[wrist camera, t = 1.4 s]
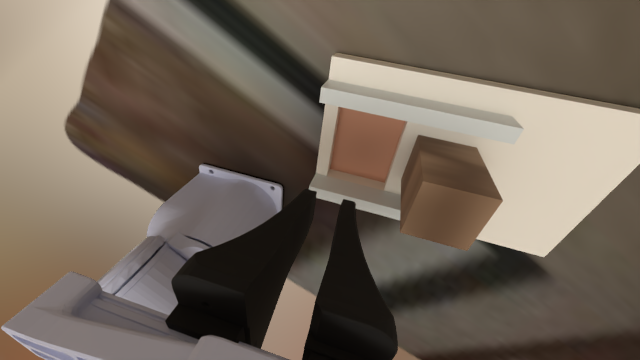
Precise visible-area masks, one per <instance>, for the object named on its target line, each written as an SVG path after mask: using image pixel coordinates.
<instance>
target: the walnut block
mask: <svg viewBox="0 0 640 360" xmlns="http://www.w3.org/2000/svg"><path fill="white" fill-rule="evenodd" d="M502 202H503V199H502V197H501V195H500V193H499V191H498V189H497V187H496V185H495V183H494V181H493V179H492V177H491V175H490V173H489V171H488V169H487V167H486V165H485V163H484V161H483V159H482V157H481V155H480V153H479V151H478V149H477V147H472V146H468V145H463V144H459V143H454V142H450V141H445V140H441V139H436V138H432V137H427V136H423V135H418V136H417V139H416V142H415V144H414V147H413V149H412V152H411V155H410V157H409V160H408V162H407V165H406V168H405V170H404V173H403V176H402V178H401V209H400V232H401V233H404V234H408V235H412V236H415V237H419V238H422V239H426V240H430V241H433V242H437V243H440V244H444V245H448V246H451V247H455V248H458V249H462V250H466V251H467V250H468V249H469V247H470V246H471V245H472V243H473V242H474V241H475V239H476V238H477V236H478V235H479V234H480V232H481V231H482V229H483V228H484V227H485V225H486V224H487V222H488V221H489V220H490V218H491V217H492V216H493V214H494V213H495V211H496V210H497V209H498V207H499V206H500V204H501V203H502Z"/></svg>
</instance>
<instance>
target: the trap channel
mask: <svg viewBox="0 0 640 360" xmlns="http://www.w3.org/2000/svg"><path fill="white" fill-rule="evenodd" d="M319 103H324V104H325V109H324V117H323V124H322V131H321V139H320V146H319V154H318V161H317V168H316V174H315V176H314V178H313V180H312V182H311V184H310V185H309V190H312V191H316V192H317V194H316V198H319V199H323V200H327V201H330V202H334V203H338V204H341V203H342V201H343V199H346V200H350V201H354V202H355V203H356V209H360V210H364V211H367V212H371V213H375V214H378V215H382V216H386V217H389V218H393V219H397V220H400V209H401V178H402V176H403V173H404V170H405V168H406V165H407V162H408V160H409V157H410V155H411V152H412V149H413V147H414V144H415V142H416V139H417V136H418V135H423V136H427V137H432V138H436V139H441V140H445V141H450V142H454V143H459V144H463V145H468V146H472V147H477V149H478V151H479V153H480V155H481V157H482V159H483V161H484V163H485V165H486V167H487V169H488V171H489V173H490V175H491V177H492V179H493V181H494V183H495V185H496V187H497V189H498V191H499V193H500V195H501V197H502V199H503V202H502V203H501V204H500V206H499V207H498V209H497V210H496V211H495V213H494V214H493V216H492V217H491V218H490V220H489V221H488V222H487V224H486V225H485V227H484V228H483V229H482V231H481V232H480V234H479V235H478V236H477V238H476V239H478V240H482V241H486V242H490V243H493V244H497V245H501V246H504V247H508V248H512V249H516V250H519V251H523V252H527V253H530V254H534V255H538V256H542V257H545V256H546V255H547V254H548V253H549V252H550V251H551V250H552V249H553V248H554V247H555V246H556V245H557V244H558V243H559V242H560V241H561V240H562V239H563V238H564V237H565V236H566V235H567V234H568V233H569V232H570V231H571V230H572V229H573V228H574V227H575V226H576V225H577V224H578V223H579V222H581V221H582V220H583V219H584V218H585V217H586V216H587V215H588V214H589V213H590V212H591V211H592V210H593V209H594V208H595V207H596V206H597V205H598V204H599V203H600V202H601V201H602V200H603V199H604V198H605V197H606V196H607V195H608V194H609V193H610V192H611V191H612V190H613V189H614V188H615V187H616V186H617V185H618V184H619V183H620V182H621V181H622V180H623V179H624V178H625V177H626V176H627V175H629V174H630V173H631V172H632V171H633V170H634V169H635V168H636V167H637V166H638V165H639V164H640V109H639V108H633V107H628V106H622V105H617V104H612V103H606V102H601V101H596V100H590V99H585V98H579V97H574V96H569V95H563V94H558V93H552V92H547V91H542V90H536V89H531V88H525V87H520V86H515V85H509V84H504V83H498V82H493V81H488V80H482V79H477V78H471V77H466V76H461V75H455V74H450V73H444V72H439V71H434V70H428V69H423V68H417V67H412V66H407V65H401V64H396V63H390V62H385V61H380V60H374V59H369V58H363V57H358V56H353V55H347V54H342V53H335V54H334V55H333V56H332V58H331V65H330V73H329V80H328V81H327V82H326V83H325V84H324V85H323V86H322V87H321V93H320V101H319Z"/></svg>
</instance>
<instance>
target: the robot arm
mask: <svg viewBox="0 0 640 360" xmlns="http://www.w3.org/2000/svg"><path fill="white" fill-rule="evenodd" d="M199 170H200V173H199V174H198V175H197V176H196V177H194V178H193V179H192V180H191V181H190V182H188V183H187V184H186V185H185V186H184V187H182V188H181V189H180V190H179V191H178V192H177V193H175V194H174V195H173V196H172V197H171V198H169V199H168V200H167V201H166V202H165V203H163V204H162V205H161V206H160V208H159V209H158V210H157V211H156V213H155V214H154V216H153V218H152V220H151V222H150V224H149V227H148V230H147V238H145V239H144V240H143V241H142V242H140V243H139V244H138V245H137V246H136V247H135V248H134V249H132V250H131V251H130V252H129V253H128V254H127V255H126V256H124V258H122V259H121V260H120V261H119V262H118V263H117V264H116V265H114V266H113V267H112V268H111V269H110V270H109V271H108V272H107V273H106V274H105V275H103V276H102V277H101V278H100V279H99V280H98V281H97V282H96V281H95V280H94V279H91V278H89V277H86V276H84V275H81V274H78V273H75V272H68V273H67V274H66V275H65V276H64V277H62V278H61V279H60V280H59V281H57V282H56V283H55V284H54V285H52V286H51V287H50V288H49V289H47V290H46V291H45V292H44V293H42V294H41V295H40V296H39V297H38V298H36V299H35V300H34V301H33V302H31V303H30V304H29V305H28V306H26V307H25V308H24V309H23V310H21V311H20V312H19V313H18V314H16V315H15V316H14V317H13V318H12V319H10V320H9V321H8V322H7V323H5V324H4V325H3V326H2V330H3V331H5V332H6V333H7V334H9V335H10V336H11V337H13V338H14V339H15V340H17V341H18V342H19V343H21V344H22V345H23V346H25V347H26V348H27V349H29V350H30V351H31V352H33V353H34V354H35V355H37V356H39V357H41V358H43V359H46V360H289V359H286V358H283V357H281V356H278V355H275V354H273V353H270V352H267V351H264V350H262V349H261V346H262V343H263V341H264V337H265V335H266V332H267V329H268V326H269V323H270V321H271V318H272V315H273V312H274V310H275V307H276V304H277V301H278V298H279V296H280V293H281V290H282V288H283V285H284V283H285V280H286V278H287V275H288V273H289V271H290V268H291V266H292V264H293V262H294V260H295V258H296V256H297V254H298V252H299V250H300V248H301V246H302V244H303V242H304V240H305V238H306V236H307V234H308V231H309V229H310V226H311V223H312V220H313V215H314V208H315V201H316V194H317V192H316V191H312V190H309V189H305V190H303V191H302V192H301V193H300V194H299V195H298V196H297V197H296V198H295V199H294V200H293V201H292V202H291V203H289V204H288V205H287V206H286V207H285V208H283V209H282V199H283V187H282V186H281V185H280V184H277V183H273V182H270V181H266V180H262V179H258V178H255V177H251V176H247V175H243V174H240V173H236V172H232V171H229V170H225V169H221V168H217V167H214V166H210V165H206V164H201V165H200V166H199ZM272 186H273V187H274V188H273V187H272ZM397 350H398V341H397V332H396V326H395V321H394V317H393V315H392V313H391V312H390V310H389V308H388V307H387V305H386V303H385V301H384V300H383V298H382V296H381V294H380V292H379V290H378V288H377V286H376V284H375V282H374V279H373V277H372V275H371V273H370V270H369V268H368V265H367V263H366V260H365V257H364V254H363V250H362V247H361V243H360V239H359V234H358V229H357V223H356V203H355V202H354V201H350V200H346V199H343V201H342V203H341V206H340V210H339V215H338V219H337V224H336V228H335V232H334V237H333V241H332V246H331V252H330V257H329V260H328V264H327V267H326V270H325V273H324V276H323V279H322V283H321V286H320V289H319V292H318V295H317V298H316V301H315V306H314V310H313V315H312V320H311V324H310V329H309V333H308V336H307V340H306V343H305V347H304V353H303V358H302V360H392V359H393V358H394V356H395V355H396V353H397Z"/></svg>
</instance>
